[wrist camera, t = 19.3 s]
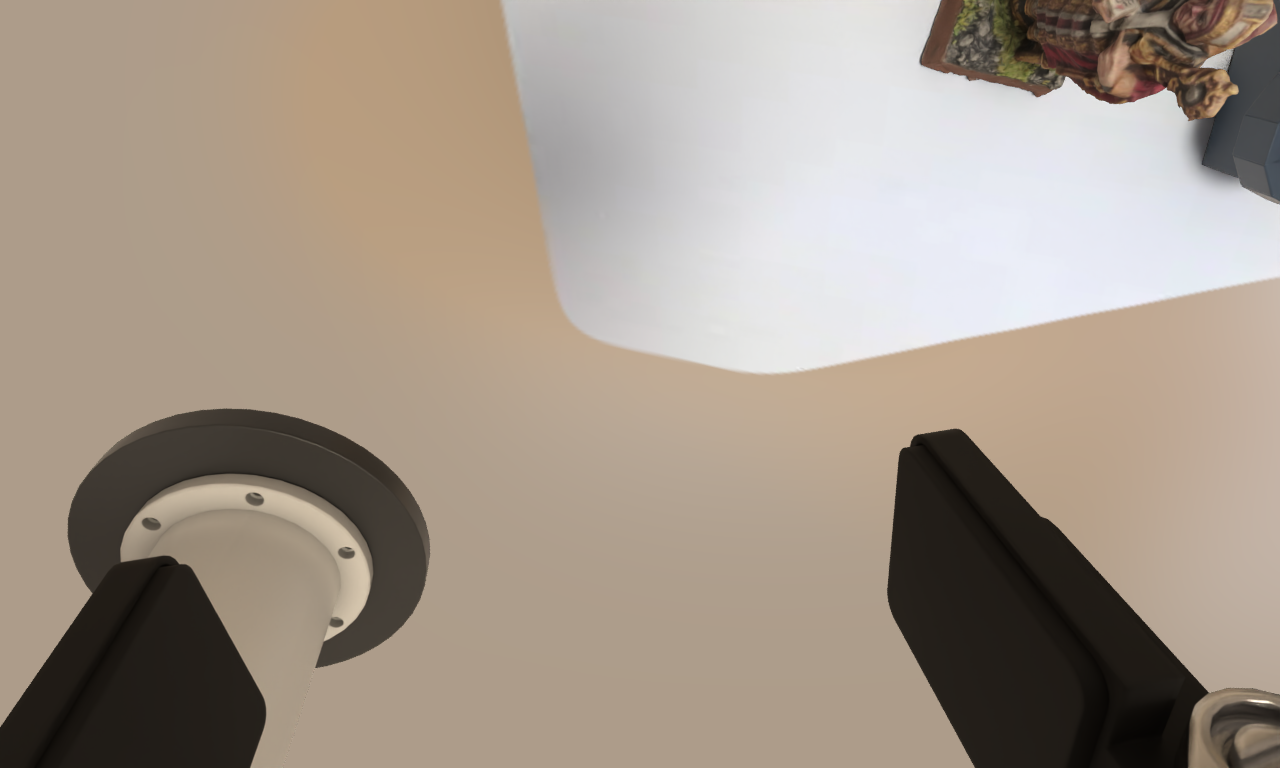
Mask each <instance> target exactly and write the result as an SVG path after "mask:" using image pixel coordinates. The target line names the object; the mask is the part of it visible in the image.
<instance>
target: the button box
mask: <svg viewBox="0 0 1280 768" xmlns="http://www.w3.org/2000/svg"><path fill="white" fill-rule="evenodd" d="M1273 2H1274V4H1275V8H1276V12H1277V24H1276V25H1275V26H1273V27H1272V28H1271V29H1269V30H1268V31H1266V32H1265V33H1263V34H1261V35H1258V36H1256V37H1254V38H1252V39H1251V40H1250V41H1248V42H1246V43H1244V44H1242V45H1240V46H1238V47H1235V51H1234V54H1233V58H1232V61H1231V65H1230V68H1229V72H1228V75H1229V77H1230V81H1231V82H1232V83H1233V84H1235V85H1237V86H1238V89H1239V92H1238V94H1234V95H1231V96H1229V97H1227V99H1226V101H1225V103H1224V104H1223V106H1222V107H1221V108H1220V110H1219V111H1218V112H1217V114H1216V117H1215V121H1214V124H1213V128H1212V131H1211V135H1210V138H1209V142H1208V145H1207V149H1206V152H1205V156H1204V159H1203V163H1202V165H1205V166H1207V167H1210V168H1213V169H1215V170H1218V171H1221V172H1224V173H1226V174H1229V175H1232V176H1235V177H1237V178H1239V179H1240V183H1241V185H1242V187H1244V188H1246V189H1248V190H1250V191H1252V192H1254V193H1255V194H1257V195H1259V196H1261V197H1263V198H1265V199H1267V200H1269V201H1272V202H1274V203H1277V204H1280V0H1273Z"/></svg>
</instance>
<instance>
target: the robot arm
mask: <svg viewBox="0 0 1280 768" xmlns="http://www.w3.org/2000/svg"><path fill="white" fill-rule="evenodd" d="M120 552H121V562H120V563H118V564H116V565H114V566H113V567H112V568H111V569H110V570H109V571H108V572H107V574H106V575H105V577H104V578H103V580H102V581H101V582H100V584H99V585H98V587H97V588H96V590H95V591H94V593H93V594H92V596H91V597H90V598H89V600H88V601H87V603H86V604H85V606H84V607H83V608H82V610H81V611H80V613H79V614H78V616H77V617H76V619H75V620H74V622H73V623H72V625H71V626H70V627H69V629H68V630H67V632H66V633H65V634H64V636H63V637H62V639H61V641H60V642H59V643H58V645H57V646H56V647H55V649H54V650H53V652H52V653H51V655H50V656H49V658H48V659H47V660H46V662H45V663H44V665H43V666H42V668H41V669H40V671H39V672H38V673H37V675H36V676H35V678H34V679H33V681H32V682H31V684H30V685H29V686H28V688H27V689H26V691H25V692H24V694H23V695H22V697H21V698H20V700H19V701H18V702H17V704H16V705H15V707H14V708H13V710H12V711H11V712H10V714H9V716H8V717H7V718H6V720H5V721H4V723H3V724H2V725H1V727H0V768H283V766H284V763H285V760H286V757H287V753H288V751H289V748H290V744H291V741H292V738H293V735H294V732H295V728H296V726H297V722H298V720H299V717H300V713H301V710H302V707H303V704H304V701H305V698H306V695H307V692H308V688H309V685H310V682H311V679H312V675H313V673H314V670H315V667H316V663H317V660H318V657H319V654H320V651H321V648H322V645H323V642H324V641H326V640H328V639H330V638H332V637H333V636H335V635H337V634H338V633H340V632H342V631H343V630H345V629H346V628H347V627H348V626H349V625H350V624H351V623H352V622H353V621H354V620H355V619H356V618H357V617H358V615H359V614H360V612H361V611H362V609H363V608H364V606H365V604H366V601H367V598H368V595H369V592H370V589H371V584H372V578H373V563H372V556H371V553H370V551H369V548H368V545H367V542H366V541H365V539H364V538H363V536H362V534H361V533H360V531H359V530H358V528H357V527H356V526H355V525H354V524H353V523H352V522H351V521H350V519H349V518H348V517H347V516H346V515H345V514H344V513H343V512H342V511H340V510H339V509H337V508H336V507H335V506H333V505H332V504H331V503H329V502H328V501H326V500H325V499H323V498H321V497H319V496H318V495H316V494H314V493H312V492H310V491H308V490H306V489H304V488H301V487H298V486H296V485H293V484H290V483H287V482H284V481H281V480H277V479H272V478H267V477H262V476H257V475H246V474H218V475H205V476H201V477H197V478H193V479H189V480H185V481H182V482H180V483H177V484H175V485H173V486H170V487H168V488H166V489H164V490H162V491H161V492H159V493H158V494H157V495H155V496H154V497H153V498H151V499H150V500H148V501H147V502H146V504H145V505H144V506H143V507H142V508H141V510H140V511H139V512H138V513H137V514H136V516H135V517H134V519H133V520H132V522H131V524H130V525H129V527H128V528H127V530H126V532H125V533H124V537H123V541H122V545H121V548H120ZM887 593H888V594H887V595H888V602H889V606H890V609H891V612H892V615H893V617H894V619H895V621H896V623H897V625H898V627H899V629H900V630H901V632H902V634H903V636H904V638H905V640H906V641H907V643H908V645H909V647H910V649H911V650H912V653H913V654H914V656H915V658H916V660H917V662H918V663H919V665H920V667H921V669H922V671H923V673H924V675H925V676H926V678H927V680H928V682H929V684H930V686H931V687H932V689H933V691H934V693H935V695H936V697H937V698H938V700H939V702H940V704H941V706H942V708H943V710H944V711H945V713H946V715H947V717H948V719H949V721H950V723H951V724H952V726H953V728H954V730H955V732H956V733H957V735H958V737H959V739H960V741H961V742H962V745H963V746H964V748H965V750H966V752H967V754H968V756H969V758H970V759H971V761H972V763H973V765H974V767H975V768H1280V695H1279V694H1274V693H1270V692H1266V691H1261V690H1257V689H1253V688H1252V689H1251V688H1226V689H1223V690H1219V691H1215V692H1212V693H1209V692H1208V691H1207V690H1206V689H1205V688H1204V687H1203V686H1202V685H1201V684H1200V683H1199V682H1198V680H1197V679H1196V678H1195V677H1194V676H1193V675H1192V674H1191V673H1190V672H1189V671H1188V669H1187V668H1186V667H1185V666H1184V665H1183V664H1182V663H1181V662H1180V661H1179V660H1178V659H1177V657H1176V656H1175V655H1174V654H1173V653H1172V652H1171V651H1170V650H1169V649H1168V648H1167V647H1166V645H1165V644H1164V643H1163V642H1162V641H1161V640H1160V639H1159V638H1158V637H1157V636H1156V634H1155V633H1154V632H1153V631H1152V630H1151V629H1150V628H1149V627H1148V626H1147V625H1146V624H1145V622H1144V621H1143V620H1142V619H1141V618H1140V617H1139V616H1138V615H1137V614H1136V613H1135V612H1134V610H1133V609H1132V608H1131V607H1130V606H1129V605H1128V604H1127V603H1126V602H1125V601H1124V600H1123V598H1122V597H1121V596H1120V595H1119V594H1118V593H1117V592H1116V591H1115V590H1114V589H1113V588H1112V586H1111V585H1110V584H1109V583H1108V582H1107V581H1106V580H1105V579H1104V578H1103V577H1102V575H1101V574H1100V573H1099V572H1098V571H1097V570H1096V569H1095V568H1094V567H1093V566H1092V565H1091V563H1090V562H1089V561H1088V560H1087V559H1086V558H1085V557H1084V556H1083V555H1082V554H1081V552H1079V550H1078V549H1077V548H1076V547H1075V546H1074V545H1073V544H1072V543H1071V542H1070V541H1069V539H1068V538H1067V537H1066V536H1065V535H1064V534H1063V533H1062V532H1061V531H1060V530H1059V528H1058V527H1056V526H1055V525H1054V524H1053V523H1052V522H1051V521H1049V520H1048V519H1046V518H1043V517H1040V516H1039V514H1037V512H1036V511H1035V510H1034V509H1033V508H1032V507H1031V506H1030V504H1029V503H1028V502H1027V501H1026V500H1025V499H1024V498H1023V497H1022V496H1021V494H1019V492H1018V491H1017V490H1016V489H1015V488H1014V487H1013V486H1012V484H1010V482H1009V481H1008V480H1007V479H1006V478H1005V477H1004V476H1003V475H1002V473H1001V472H1000V471H999V470H998V469H997V468H996V467H995V466H994V465H993V463H992V462H991V461H990V460H989V459H988V458H987V457H986V456H985V455H984V454H983V452H982V451H981V450H980V449H979V448H978V447H977V446H976V445H975V443H974V442H973V441H972V440H971V439H970V438H969V437H968V436H967V435H966V434H965V433H964V432H963V431H962V430H960V429H950V430H944V431H938V432H932V433H925V434H920V435H916V436H914V437H913V439H912V441H911V445H910V447H907V448H903V449H902V450H901V451H900V455H899V462H898V474H897V485H896V496H895V509H894V519H893V532H892V542H891V555H890V565H889V578H888V588H887Z"/></svg>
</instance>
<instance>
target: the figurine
mask: <svg viewBox="0 0 1280 768" xmlns="http://www.w3.org/2000/svg"><path fill="white" fill-rule="evenodd" d="M1276 24H1277V12H1276V8H1275V4H1274V2H1273V0H942V1H941V6H940V9H939V12H938V14H937V16H936V18H935V22H934V25H933V27H932V30H931V36H930V38H929V40H928V42H927V45H926V48H925V50H924V53H923V55H922V61H921V64H922V65H923V66H925V67H928V68H931V69H934V70H936V71H939V70H941V71H942V72H943V73H947V74H948V73H949V72H952V73H954V74H958V75H966V76H968V79H969V81H972V80H976V78H978V79H977V80H979V79H982V80H985V81H989V82H992V83H999V84H1004V85H1007V86H1012V87H1017V88H1021V89H1024V90H1027V91H1031V92H1033V93H1034V95H1035V96H1036V97H1040V96H1041V95H1045V94H1047V93H1049V92H1051V91H1052V90H1054V89H1057V88H1060V87H1061V86H1062V85H1063V82H1064V80H1065V77H1066V76H1067V77H1069V78H1071V79H1072V81H1073V82H1074V83H1075V84H1077V85H1078V86H1079V87H1081V89H1082V90H1085V92H1086V93H1087V94H1091V95H1092V96H1095V98H1096V99H1098V100H1101V101H1106V102H1109V103H1110V104H1112V103H1113V104H1123V103H1126V102H1135V101H1136V100H1138V99H1141V98H1144V97H1147V96H1150V95H1153V94H1156V93H1158V92H1160V91H1162V90H1163V89H1165V88H1166V87H1167V90H1168V91H1172V92H1174V93H1175V95H1176V97H1177V103H1178V106H1179V108H1180V107H1182V109H1183V112H1184V114H1185V115H1186V116H1187V117H1188V118H1189V120H1188V121H1191V120H1194V119H1202V118H1211V117H1214V116H1215V115H1216V114H1217V112H1218V111H1219V110H1220V108H1221V107H1222V106H1223V104H1224V103H1225V101H1226V99H1227V97H1229V96H1231V95H1234V94H1238V92H1239V89H1238V86H1237V85H1235V84H1233V83H1232V82H1231V81H1230V77H1229V75H1228V74H1227V72H1226V71H1225V70H1223V69H1218V70H1217V69H1214V68H1200V67H1201V65H1202V64H1203V63H1204V61H1205V60H1206V59H1208V58H1209V57H1211V56H1213V55H1216V54H1219V53H1221V52H1224V51H1226V50H1227V49H1233V48H1235V47H1238V46H1240V45H1242V44H1244V43H1246V42H1248V41H1250V40H1251V39H1252V38H1254V37H1256V36H1258V35H1261V34H1263V33H1265V32H1266V31H1268V30H1269V29H1271V28H1272V27H1273V26H1275V25H1276Z"/></svg>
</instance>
